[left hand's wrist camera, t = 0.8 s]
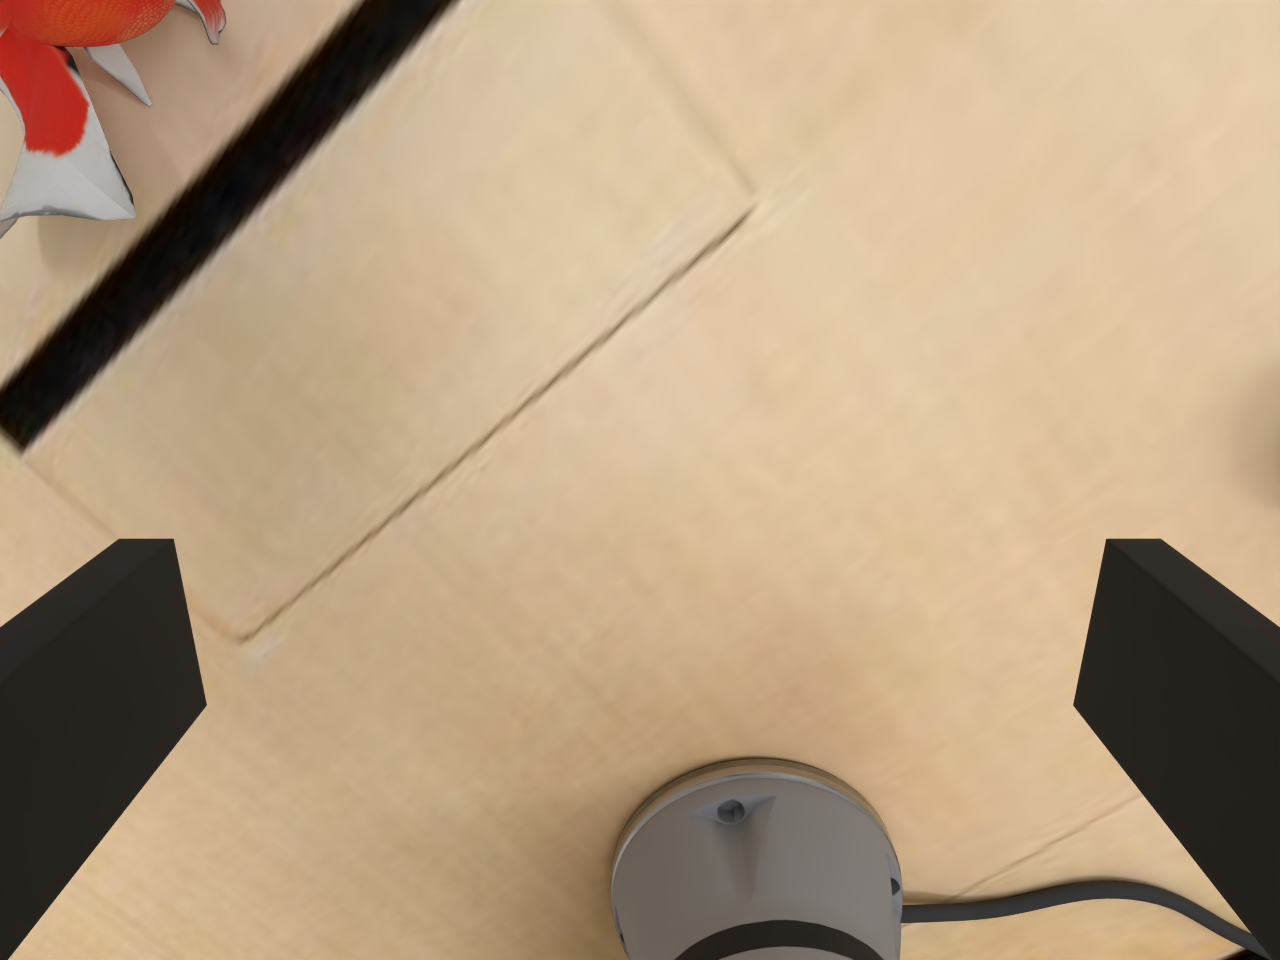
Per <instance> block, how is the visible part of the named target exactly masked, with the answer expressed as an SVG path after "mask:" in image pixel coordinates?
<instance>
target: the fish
mask: <svg viewBox="0 0 1280 960" xmlns="http://www.w3.org/2000/svg"><path fill="white" fill-rule="evenodd" d="M174 4H177V5H180V6H182V7H185V8H187V9H189V10H191V11H193V12H194V13H196V14H197V15H199V16H200V18H201V20H202V22H203V24H204V27H205V30H206V33H207V36H208V39H209V41H210V43H212V44H214V45H218V42H219V35H220V33H221V32H222V30H223V28H224V26H225V24H226V18H225V11H224V9H223V7H222V5H221V1H220V0H0V90H1V91H2V92H3V93H4V94H5V96H6V97H7V98H8V100H9V101H10V103H11V105H12V107H13V108H14V110H15V112H16V114H17V116H18V118H19V120H20V123H21V125H22V129H23V133H24V141H23V145H22V149H21V152H20V156H19V159H18V163H17V166H16V169H15V172H14V176H13V179H12V182H11V184H10V187H9V189H8V192H7V194H6V196H5V198H4V201H3V204H2V207H1V210H0V239H1V238H2V237H3V235H4V234H5V233H6V232H7V231H8V230H9V229H10V228H11V227H12V226H13V225H14V224H15V223H16V221H17V219H18V218H19V217H23V216H34V215H66V216H73V217H79V218H86V219H92V220H116V219H134V218H136V215H135V209H134V203H133V197H132V194H131V192H130V190H129V188H128V186H127V184H126V182H125V180H124V178H123V176H122V174H121V172H120V170H119V168H118V166H117V164H116V162H115V160H114V158H113V156H112V154H111V151H110V149H109V146H108V143H107V141H106V138H105V135H104V133H103V130H102V127H101V125H100V122H99V120H98V117H97V115H96V113H95V110H94V108H93V105H92V103H91V100H90V98H89V95H88V93H87V91H86V88H85V86H84V83H83V81H82V79H81V76H80V74H79V72H78V69H77V67H76V64H75V62H74V60H73V57H72V55H71V54H70V53H69V52H68V51H67V50H66V48H65V47H84V48H85V50H86V52H87V54H88V55H89V57H90V58H91V59H92V60H93V61H94V62H95V63H96V64H97V65H98V66H100V67H101V68H102V69H103V70H105V71H106V72H107V73H109V74H110V75H111V76H113V77H114V78H115V79H116V80H118V81H119V82H120V83H121V84H123V85H124V86H125V87H126V88H127V89H129V90H130V91H131V92H132V93H133V94H134V95H136V96H137V97H138V98H139V99H140V100H141V101H142V102H143V103H144V104H146V105H147V106H150V105H152V103H151V101H150V99H149V96H148V94H147V92H146V90H145V88H144V86H143V83H142V81H141V79H140V77H139V75H138V73H137V71H136V69H135V67H134V66H133V64H132V63H131V61H130V60H129V58H128V57H127V55H126V54H125V52H124V51H123V49H122V47H121V46H120V44H119V43H121V42H124V41H127V40H130V39H132V38H135V37H137V36H139V35H141V34H143V33H145V32H146V31H148V30H150V29H151V28H153V27H154V26H155V25H156V24H158V23H159V22H160V21H161V20H162V19H163V18H164V16H165V15H166V14H167V13H168V12H169V11H170V9H171V8H172V7H173V5H174Z"/></svg>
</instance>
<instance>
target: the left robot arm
mask: <svg viewBox="0 0 1280 960" xmlns="http://www.w3.org/2000/svg"><path fill="white" fill-rule="evenodd" d="M206 706H207V704H206V699H205V694H204V689H203V684H202V679H201V674H200V669H199V664H198V659H197V654H196V649H195V644H194V639H193V634H192V629H191V624H190V619H189V614H188V609H187V604H186V598H185V593H184V588H183V583H182V578H181V573H180V568H179V563H178V558H177V553H176V548H175V543H174V539H118V540H117V541H116V542H114V543H113V544H112V545H110V546H109V547H107V548H106V549H105V550H103V551H102V552H101V553H99V554H98V555H97V556H95V557H94V558H93V559H91V560H90V561H89V562H87V563H86V564H85V565H83V566H82V567H81V568H79V569H78V570H77V571H75V572H74V573H73V574H71V575H70V576H69V577H67V578H66V579H65V580H63V581H62V582H60V583H59V584H58V585H56V586H55V587H54V588H52V589H51V590H50V591H48V592H47V593H46V594H44V595H43V596H42V597H40V598H39V599H38V600H36V601H35V602H34V603H32V604H31V605H30V606H28V607H27V608H26V609H24V610H23V611H22V612H20V613H19V614H17V615H16V616H15V617H13V618H12V619H11V620H9V621H8V622H7V623H5V624H4V625H3V626H1V627H0V960H8V959H9V958H10V956H11V955H12V954H13V953H14V951H15V950H16V949H17V947H18V946H19V945H20V944H21V942H22V941H23V940H24V938H25V937H26V936H27V935H28V933H29V932H30V931H31V930H32V928H33V927H34V926H35V924H36V923H37V922H38V921H39V919H40V918H41V917H42V915H43V914H44V913H45V912H46V910H47V909H48V908H49V906H50V905H51V904H52V903H53V901H54V900H55V899H56V898H57V896H58V895H59V894H60V892H61V891H62V890H63V889H64V887H65V886H66V885H67V883H68V882H69V881H70V880H71V878H72V877H73V876H74V875H75V873H76V872H77V871H78V869H79V868H80V867H81V866H82V864H83V863H84V862H85V860H86V859H87V858H88V857H89V855H90V854H91V853H92V851H93V850H94V849H95V848H96V846H97V845H98V844H99V843H100V841H101V840H102V839H103V837H104V836H105V835H106V834H107V832H108V831H109V830H110V828H111V827H112V826H113V825H114V823H115V822H116V821H117V819H118V818H119V817H120V816H121V814H122V813H123V812H124V811H125V809H126V808H127V807H128V805H129V804H130V803H131V802H132V800H133V799H134V798H135V796H136V795H137V794H138V793H139V791H140V790H141V789H142V788H143V786H144V785H145V784H146V782H147V781H148V780H149V779H150V777H151V776H152V775H153V773H154V772H155V771H156V770H157V768H158V767H159V766H160V764H161V763H162V762H163V761H164V759H165V758H166V757H167V756H168V754H169V753H170V752H171V750H172V749H173V748H174V747H175V745H176V744H177V743H178V741H179V740H180V739H181V738H182V736H183V735H184V734H185V733H186V731H187V730H188V729H189V727H190V726H191V725H192V724H193V722H194V721H195V720H196V718H197V717H198V716H199V715H200V713H201V712H202V711H203V709H204V708H205V707H206ZM1073 706H1074V707H1075V708H1076V709H1077V711H1078V712H1079V713H1080V715H1081V716H1082V717H1083V718H1084V720H1085V721H1086V722H1087V724H1088V725H1089V726H1090V727H1091V729H1092V730H1093V731H1094V733H1095V734H1096V735H1097V736H1098V738H1099V739H1100V740H1101V741H1102V743H1103V744H1104V745H1105V747H1106V748H1107V749H1108V750H1109V752H1110V753H1111V754H1112V756H1113V757H1114V758H1115V759H1116V761H1117V762H1118V763H1119V764H1120V766H1121V767H1122V768H1123V770H1124V771H1125V772H1126V773H1127V775H1128V776H1129V777H1130V779H1131V780H1132V781H1133V782H1134V784H1135V785H1136V786H1137V788H1138V789H1139V790H1140V791H1141V793H1142V794H1143V795H1144V796H1145V798H1146V799H1147V800H1148V802H1149V803H1150V804H1151V805H1152V807H1153V808H1154V809H1155V811H1156V812H1157V813H1158V814H1159V816H1160V817H1161V818H1162V819H1163V821H1164V822H1165V823H1166V825H1167V826H1168V827H1169V828H1170V830H1171V831H1172V832H1173V834H1174V835H1175V836H1176V837H1177V839H1178V840H1179V841H1180V843H1181V844H1182V845H1183V846H1184V848H1185V849H1186V850H1187V851H1188V853H1189V854H1190V855H1191V857H1192V858H1193V859H1194V860H1195V862H1196V863H1197V864H1198V866H1199V867H1200V868H1201V869H1202V871H1203V872H1204V873H1205V875H1206V876H1207V877H1208V878H1209V880H1210V881H1211V882H1212V883H1213V885H1214V886H1215V887H1216V889H1217V890H1218V891H1219V892H1220V894H1221V895H1222V896H1223V898H1224V899H1225V900H1226V901H1227V903H1228V904H1229V905H1230V906H1231V908H1232V909H1233V910H1234V912H1235V913H1236V914H1237V915H1238V917H1239V918H1240V919H1241V921H1242V922H1243V923H1244V924H1245V926H1246V927H1247V928H1248V930H1249V931H1250V932H1251V933H1252V935H1253V936H1254V937H1255V938H1256V940H1257V941H1258V942H1259V944H1260V945H1261V946H1262V947H1263V949H1264V950H1265V951H1266V953H1267V954H1268V955H1269V956H1270V958H1271V959H1272V960H1280V627H1279V626H1277V625H1276V624H1275V623H1273V622H1272V621H1271V620H1269V619H1268V618H1267V617H1265V616H1264V615H1263V614H1261V613H1260V612H1258V611H1257V610H1256V609H1254V608H1253V607H1252V606H1250V605H1249V604H1248V603H1246V602H1245V601H1244V600H1242V599H1241V598H1240V597H1238V596H1237V595H1236V594H1234V593H1233V592H1232V591H1230V590H1229V589H1228V588H1226V587H1225V586H1224V585H1222V584H1221V583H1220V582H1218V581H1217V580H1215V579H1214V578H1213V577H1211V576H1210V575H1209V574H1207V573H1206V572H1205V571H1203V570H1202V569H1201V568H1199V567H1198V566H1197V565H1195V564H1194V563H1193V562H1191V561H1190V560H1189V559H1187V558H1186V557H1185V556H1183V555H1182V554H1181V553H1179V552H1178V551H1177V550H1175V549H1174V548H1172V547H1171V546H1170V545H1168V544H1167V543H1166V542H1164V541H1163V540H1162V539H1106V543H1105V548H1104V553H1103V558H1102V563H1101V568H1100V573H1099V578H1098V583H1097V588H1096V593H1095V598H1094V604H1093V609H1092V614H1091V619H1090V624H1089V629H1088V634H1087V639H1086V644H1085V649H1084V654H1083V659H1082V664H1081V669H1080V674H1079V679H1078V684H1077V689H1076V694H1075V699H1074V704H1073Z"/></svg>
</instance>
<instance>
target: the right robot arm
mask: <svg viewBox="0 0 1280 960" xmlns="http://www.w3.org/2000/svg"><path fill="white" fill-rule="evenodd" d="M1106 898H1109V899H1131V900H1138V901H1145V902H1149V903H1154V904H1158V905H1161V906H1164V907H1167V908H1170V909H1173V910H1175V911H1177V912H1179V913H1181V914H1183V915H1185V916H1187V917H1189V918H1191V919H1193V920H1194V921H1196V922H1198V923H1200V924H1201V925H1203V926H1205V927H1206V928H1208V929H1210V930H1211V931H1213V932H1215V933H1217V934H1218V935H1220V936H1222V937H1224V938H1226V939H1228V940H1230V941H1231V942H1233V943H1236V944H1238V945H1240V946H1242V947H1244V948H1246V949H1248V950H1251V951H1253V952H1255V953H1257V954H1259V955H1261V956H1263V957H1265V958H1267V959H1269V960H1272V959H1271V958H1270V956H1269V955H1268V954H1267V953H1266V951H1265V950H1264V949H1263V947H1262V946H1261V945H1260V944H1259V942H1258V941H1257V940H1256V938H1255V937H1254V936H1253V935H1252V934H1250V933H1248V932H1245V931H1243V930H1241V929H1239V928H1237V927H1236V926H1234V925H1232V924H1230V923H1228V922H1226V921H1225V920H1223V919H1221V918H1220V917H1218V916H1216V915H1215V914H1213V913H1211V912H1209V911H1208V910H1206V909H1204V908H1203V907H1201V906H1199V905H1197V904H1195V903H1194V902H1192V901H1190V900H1188V899H1186V898H1183V897H1181V896H1179V895H1176V894H1174V893H1171V892H1169V891H1166V890H1163V889H1160V888H1156V887H1152V886H1148V885H1143V884H1137V883H1130V882H1119V881H1096V882H1084V883H1076V884H1070V885H1064V886H1059V887H1054V888H1049V889H1045V890H1040V891H1036V892H1032V893H1027V894H1023V895H1018V896H1013V897H1008V898H1003V899H997V900H990V901H982V902H971V903H954V904H926V905H902V902H903V890H902V881H901V873H900V867H899V863H898V859H897V856H896V853H895V850H894V847H893V845H892V842H891V839H890V837H889V834H888V832H887V829H886V827H885V825H884V823H883V821H882V820H881V818H880V816H879V815H878V813H877V812H876V811H875V809H874V808H873V807H872V806H871V804H870V803H869V802H868V801H867V800H866V799H865V798H864V797H863V796H862V795H861V794H859V793H858V792H857V791H856V790H855V789H853V788H852V787H851V786H849V785H848V784H846V783H845V782H843V781H841V780H840V779H838V778H836V777H835V776H833V775H830V774H828V773H826V772H824V771H822V770H819V769H816V768H813V767H810V766H807V765H803V764H799V763H795V762H789V761H783V760H773V759H746V760H735V761H729V762H723V763H719V764H715V765H711V766H707V767H705V768H702V769H699V770H696V771H693V772H691V773H689V774H686V775H684V776H682V777H680V778H678V779H676V780H675V781H673V782H671V783H669V784H668V785H666V786H665V787H663V788H662V789H660V790H659V791H658V792H656V793H655V794H654V795H653V796H651V797H650V798H649V799H648V800H647V801H646V802H645V803H644V804H643V805H642V806H641V807H640V808H639V809H638V810H637V811H636V813H635V814H634V815H633V816H632V818H631V819H630V821H629V822H628V824H627V825H626V827H625V828H624V830H623V832H622V834H621V836H620V838H619V841H618V844H617V847H616V849H615V854H614V858H613V865H612V880H611V904H612V911H613V915H614V921H615V926H616V930H617V933H618V936H619V938H620V941H621V943H622V945H623V948H624V950H625V952H626V954H627V956H628V958H629V959H630V960H900V944H901V923H918V922H943V921H965V920H979V919H988V918H997V917H1003V916H1009V915H1014V914H1019V913H1024V912H1029V911H1033V910H1038V909H1042V908H1047V907H1051V906H1056V905H1060V904H1065V903H1071V902H1077V901H1083V900H1091V899H1106Z"/></svg>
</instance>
